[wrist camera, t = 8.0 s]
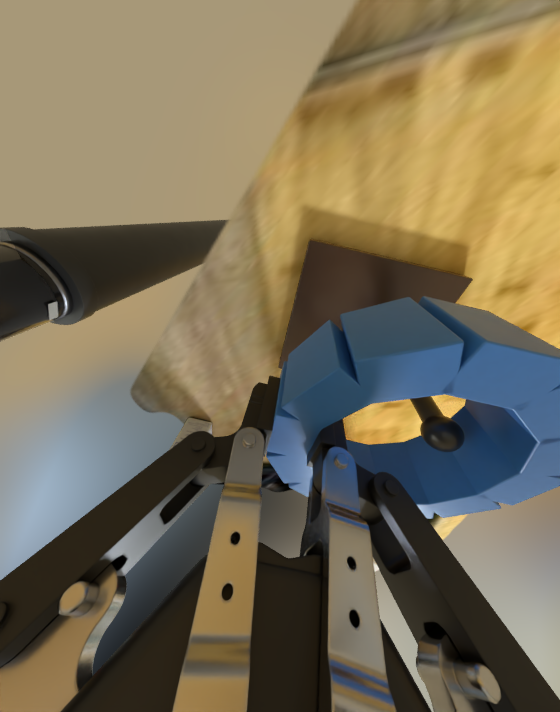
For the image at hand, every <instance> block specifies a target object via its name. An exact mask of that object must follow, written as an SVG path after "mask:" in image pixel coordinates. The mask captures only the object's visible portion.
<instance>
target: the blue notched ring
mask: <svg viewBox="0 0 560 712" xmlns="http://www.w3.org/2000/svg"><path fill="white" fill-rule="evenodd" d="M340 319H341V324H342V330H343V331H342V330H340V329H339V328H338V327H337V326H336V325H335V324H334V323H333V322H332V321H331V320H328V321H327V322H326V323H325V324H324V325H322V326H321V327H320V328H319V329H318V330H317V331H315V332H314V333H313V334H312V335H311V336H310V337H308V338H307V339H306V340H305V341H304V342H303V343H301V344H300V345H299V346H298V347H297V348H296V349H294V350H293V351H292V352H291V353H290V354H289V356H288V362H287V361H284V364H283V367H282V371H281V375H280V378H281V379H280V385H279V391H278V396H277V402H276V408H275V414H274V419H273V420H274V425H273V431H272V434H271V438H270V441H269V444H268V448H267V455H266V457H267V458H268V460H269V461H270V463H271V464H272V466H273V467H274V469H275V470H276V472H277V473H278V475H279V476H280V478H281V479H282V481H283V482H284V483H289V487H290V488H292V489H294V490H295V491H297V492H299V493H301V494H303V495H305V496H307V497H308V496H309V486H310V479H311V477H312V475H313V467H309V466H307V455H308V453H309V451H310V449H311V447H312V445H313V444H314V442H315V440H316V438H317V436H318V434H319V432H320V431H321V430H322V429H323V428H325V427H327V426H329V425H331V424H333V423H335V422H337V421H339V420H341V419H343V418H344V417H346V416H348V415H350V414H352V413H354V412H356V411H358V410H360V409H362V408H364V407H366V406H368V405H370V404H372V403H380V402H388V401H396V400H404V399H412V398H419V397H427V396H435V395H443V394H446V395H450V396H455V397H459V398H464V399H466V402H465V406H464V407H463V408H462V409H461V410H459V411H458V412H457V413H456V414H455V415H454V416H453V417H452V418H450V419H452V420H454V421H455V422H456V423H458V424H459V426H460V427H461V428H462V430H463V432H464V438H465V439H464V443H463V445H462V446H461V447H460V448H459V449H458V450H456V451H453V452H442V451H438V450H436V449H434V448H432V447H431V446H429V445H428V444H427V443H426V442H425V441H424V439H423V437H422V435H421V436H419V437H416V438H413V439H411V440H408V441H405V442H400V443H387V444H373V445H367V444H362V443H358V442H354V441H349V440H346V443H347V449H348V452H349V453H350V454H351V455H352V456H353V458H354V460H355V462H356V463H357V464H358V465H359V466H361V467H363V468H364V469H366V470H368V471H370V472H372V473H373V474H375V475H376V474H377V473H378V472H387V473H389V474H391V475H393V476H394V477H395V478H396V479H397V480H398V481H399V482H400V483H401V484H402V486H403V487H404V488H405V490H406V491H407V493H408V494H409V495H410V497H411V498H412V499H413V501H414V502H415V503H416V505H417V506H418V508H419V509H420V510H421V512H422V513H423V514H424V516H425V517H426V518H433V514H434V512H435V513H436V514H438V515H439V516H441V517H442V518H445V517H452V516H458V515H464V514H470V513H476V512H482V511H488V510H495V509H500V508H501V506H500V505H499V503H498V502H500V503H504V504H509V505H515V504H517V503H519V502H522V501H524V500H527V499H529V498H532V497H534V496H537V495H539V494H542V493H544V492H546V491H549V490H551V489H554V488H556V487H558V486H560V349H558V348H556V347H554V346H552V345H551V344H549V343H547V342H545V341H543V340H541V339H539V338H537V337H536V336H534V335H532V334H530V333H528V332H526V331H524V330H522V329H521V328H519V327H517V326H515V325H513V324H511V323H509V322H507V321H506V320H504V319H502V318H500V317H498V316H496V315H494V314H492V313H491V312H489V311H485V310H481V309H477V308H472V307H468V306H464V305H460V304H455V303H451V302H447V301H443V300H438V299H434V298H430V297H426V296H423V297H422V298H421V300H420V301H419V303H416V302H415V301H414V300H413V299H411V298H410V297H406V298H402V299H398V300H394V301H390V302H386V303H382V304H378V305H374V306H371V307H367V308H363V309H359V310H355V311H351V312H347V313H343V314H341V315H340Z"/></svg>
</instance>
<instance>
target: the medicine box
mask: <svg viewBox="0 0 560 712" xmlns="http://www.w3.org/2000/svg"><path fill="white" fill-rule="evenodd" d="M197 431H206V432H209V433H210V434H212V423H211V422H208V421H204V420H199V419H194V418H188V419H187V420H186V422H185V424H184V426H183V428H182V429H181V431H180V433H179V434H178V436H177V438H176V439H175V441H174V443H173V445H172V446H171V448H173V447H174V446H175V445H176V444H178V443H179V442H180V441H182V440H183V439H184V438H186V437H187V436H188V435H190V434H191V433H193V432H197ZM171 448H170V449H171Z"/></svg>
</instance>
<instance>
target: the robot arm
mask: <svg viewBox="0 0 560 712" xmlns="http://www.w3.org/2000/svg"><path fill="white" fill-rule="evenodd" d="M72 308H73V300H72V296H71V293H70V291H69V289H68V287H67V285H66V283H65V282H64V280H63V279H62V278H61V276H60V275H59V274H58V273H57V271H56V270H55V269H54V268H53V267H52V266H51V265H50V264H49V263H48V262H47V261H45V260H44V259H43V258H42V257H40V256H39V255H38V254H36V253H35V252H33V251H32V250H30V249H28V248H26V247H24V246H22V245H20V244H17V243H14V242H9V241H0V341H3V340H5V339H8V338H10V337H13V336H15V335H18V334H20V333H23V332H25V331H28V330H30V329H32V328H35V327H38V326H40V325H43V324H45V323H48V322H50V321H53V320H57V319H60V318H62V317H65V316H67V315H69V314H70V313H71V311H72ZM280 379H281V378H277V377H273V376H269V380H268V384H264V383H260V382H259V383H258V384H257V385H256V386H255V387H254V388H253V391H252V394H251V397H250V400H249V403H248V406H247V410H246V413H245V416H244V419H243V422H242V425H241V427H240V428H239V430H238V431H237V432H235V433H234V434H232V435H229V436H224V437H213V435H212V434H210V433H209V432H206V431H197V432H193V433H191V434H190V435H188V436H187V437H186V438H184V439H183V440H182V441H180V442H179V443H178V444H176V445H175V446H174V447H173V448H171V449H170V450H169V451H167V452H166V453H165V454H164V455H162V456H161V457H160V458H158V459H157V460H156V461H154V462H153V463H152V464H151V465H150V466H148V467H147V468H145V469H144V470H143V471H141V472H140V473H139V474H138V475H136V476H135V477H134V478H133V479H131V480H130V481H129V482H127V483H126V484H125V485H124V486H122V487H121V488H120V489H118V490H117V491H116V492H114V493H113V494H112V495H110V496H109V497H108V498H107V499H105V500H104V501H103V502H101V503H100V504H99V505H97V506H96V507H95V508H94V509H92V510H91V511H90V512H89V513H88V514H86V515H85V516H83V517H82V518H81V519H80V520H78V521H77V522H75V523H74V524H73V525H72V526H70V527H69V528H68V529H66V530H65V531H64V532H63V533H61V534H60V535H59V536H58V537H56V538H55V539H53V540H52V541H51V542H50V543H48V544H47V545H46V546H44V547H43V548H42V549H41V550H39V551H38V552H37V553H35V554H34V555H33V556H31V557H30V558H29V559H28V560H26V561H25V562H24V563H22V564H21V565H20V566H19V567H17V568H16V569H15V570H13V571H12V572H11V573H9V574H8V575H7V576H6V577H4V578H3V579H2V580H0V712H431V710H430V708H429V706H428V704H427V703H426V701H425V699H424V697H423V695H422V694H421V692H420V690H419V688H418V686H417V685H416V683H415V682H414V679H413V677H412V676H411V674H410V672H409V670H408V668H407V667H406V665H405V663H404V661H403V659H402V657H401V656H400V654H399V652H398V651H397V649H396V647H395V645H394V643H393V641H392V640H391V638H390V636H389V634H388V632H387V631H386V629H385V627H384V625H383V623H382V621H381V620H380V615H379V607H378V599H377V589H376V581H375V573H374V563H373V558H374V560H375V562H376V564H377V566H378V568H379V570H380V572H381V574H382V576H383V578H384V580H385V581H386V583H387V585H388V587H389V589H390V591H391V593H392V595H393V597H394V599H395V600H396V603H397V605H398V607H399V609H400V611H401V613H402V615H403V616H404V618H405V620H406V622H407V624H408V626H409V628H410V630H411V632H412V634H413V636H414V638H415V640H416V642H417V644H418V652H417V653H418V656H417V658H416V667H417V670H418V673H419V675H420V677H421V679H422V680H423V682H424V683H425V685H426V688H427V690H428V693H429V695H430V699H431V702H432V706H433V709H434V712H560V700H559V698H558V697H557V696H556V694H555V693H554V691H553V690H552V689H551V687H550V686H549V685H548V683H547V682H546V681H545V679H544V678H543V677H542V675H541V674H540V672H539V671H538V670H537V668H536V667H535V666H534V664H533V663H532V662H531V660H530V659H529V657H528V656H527V655H526V653H525V652H524V651H523V649H522V648H521V647H520V645H519V644H518V642H517V641H516V640H515V638H514V637H513V636H512V634H511V633H510V632H509V630H508V629H507V627H506V626H505V625H504V623H503V622H502V621H501V619H500V618H499V617H498V615H497V614H496V612H495V611H494V610H493V608H492V607H491V606H490V604H489V603H488V602H487V600H486V599H485V598H484V596H483V595H482V593H481V592H480V591H479V589H478V588H477V587H476V585H475V584H474V582H473V581H472V580H471V578H470V577H469V576H468V574H467V573H466V572H465V570H464V569H463V568H462V566H461V565H460V563H459V562H458V561H457V559H456V558H455V557H454V555H453V554H452V553H451V551H450V550H449V548H448V547H447V546H446V544H445V543H444V542H443V540H442V539H441V537H440V536H439V535H438V533H437V532H436V531H435V529H434V528H433V527H432V525H431V524H430V523H429V521H428V520H427V518H426V517H425V516H424V514H423V513H422V512H421V510H420V509H419V508H418V506H417V505H416V503H415V502H414V501H413V499H412V498H411V497H410V495H409V494H408V493H407V491H406V490H405V488H404V487H403V486H402V484H401V483H400V482H399V481H398V480H397V479H396V478H395V477H394V476H393V475H391V474H389V473H387V472H378V473H377V474H376V475H375V474H373V473H372V472H370V471H368V470H366V469H364V468H363V467H361V466H359V465H358V464H357V463H356V462H355V460H354V458H353V456H352V455H351V454H350V453H349V452H348V449H347V443H346V437H345V431H344V425H343V419H341V420H339V421H337V422H335V423H333V424H331V425H329V426H327V427H325V428H323V429H322V430H321V431H320V432H319V434H318V436H317V438H316V440H315V442H314V444H313V445H312V447H311V449H310V451H309V453H308V455H307V466H309V467H313V475H312V477H311V479H310V486H309V496H308V507H307V519H306V525H305V529H304V532H303V536H302V542H301V550H300V557H296V558H286V557H284V556H282V555H281V554H279V553H277V552H276V551H274V550H273V549H271V548H269V547H268V546H266V545H264V544H263V543H260V542H258V539H259V525H260V513H261V497H262V494H261V479H262V467H263V456H264V457H265V454H266V451H267V448H268V444H269V441H270V438H271V434H272V431H273V425H274V420H273V419H274V414H275V408H276V402H277V396H278V391H279V385H280ZM221 482H225V483H224V487H223V490H222V493H221V497H220V502H219V506H218V511H217V515H216V520H215V525H214V529H213V534H212V538H211V543H210V547H209V552H208V554H207V555H206V556H205V557H203V558H202V559H201V560H200V561H199V562H198V563H197V564H196V565H195V566H194V567H193V568H192V569H191V571H190V572H189V573H188V574H187V575H186V576H185V577H184V578H183V579H182V580H181V581H180V582H179V584H178V585H177V586H176V587H175V588H174V589H173V590H172V591H171V592H170V593H169V594H168V595H167V596H166V598H165V599H164V600H163V601H162V602H161V603H160V604H159V605H158V606H157V607H156V608H155V610H154V611H153V612H152V613H151V614H150V615H149V616H148V617H147V618H146V619H145V621H143V622H142V624H141V625H140V626H139V627H138V628H137V629H136V630H135V631H134V632H133V633H132V635H130V637H129V638H128V639H127V640H126V641H125V642H124V643H123V644H122V645H121V646H120V647H119V648H118V650H117V651H116V652H115V653H114V654H113V655H112V656H111V657H110V658H109V660H107V661H106V663H105V664H104V665H103V666H102V667H101V668H100V669H99V670H98V671H97V672H96V673H95V674H94V675H92V668H93V660H94V656H95V652H96V649H97V646H98V644H99V642H100V639H101V637H102V635H103V634H104V632H105V630H106V629H107V627H108V626H109V624H110V623H111V621H112V620H113V619H114V617H115V616H116V614H117V613H118V611H119V609H120V607H121V605H122V603H123V600H124V597H125V593H126V578H125V575H126V573H127V572H128V571H129V570H130V569H131V568H132V567H133V566H134V565H135V564H136V563H137V562H138V561H139V560H140V558H141V557H142V556H143V555H144V554H145V553H146V552H147V551H148V550H149V549H150V548H151V547H152V546H153V545H154V544H155V542H156V541H157V540H158V539H159V538H160V537H161V536H162V535H163V534H164V533H165V532H166V531H167V530H168V529H169V528H170V526H171V525H172V524H173V523H174V522H175V521H176V520H177V519H178V518H179V517H180V516H181V515H182V514H183V513H184V512H185V511H186V509H187V508H188V507H189V506H190V505H191V504H192V503H193V502H194V501H195V500H196V499H197V498H198V497H199V496H200V495H201V493H202V492H203V491H204V490H205V489H206V488H207V487H208V486H209V485H210V484H214V483H221Z"/></svg>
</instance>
